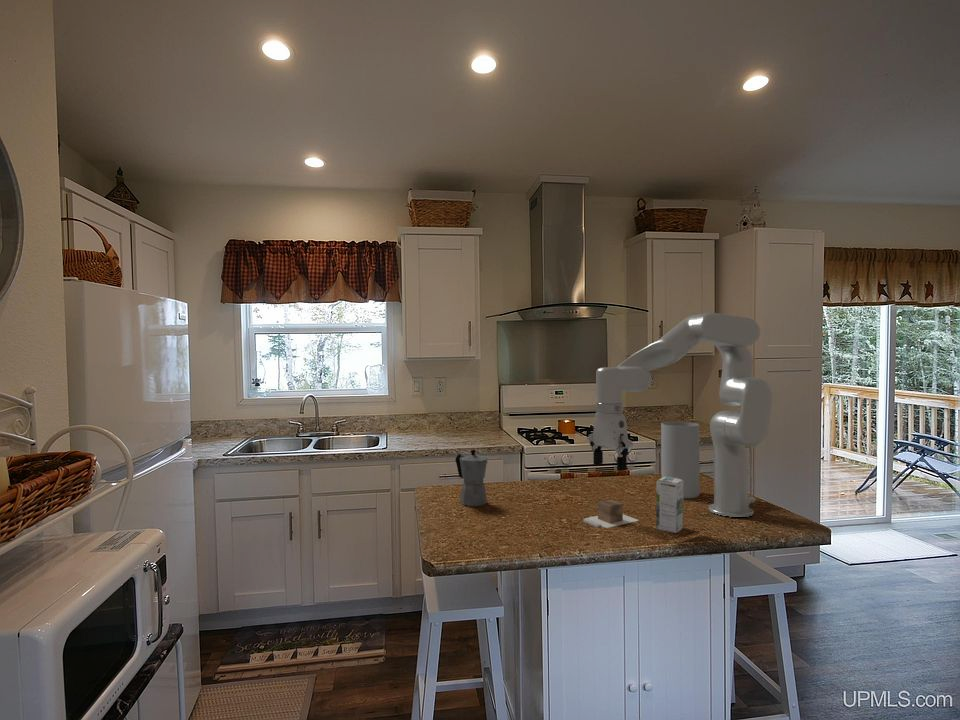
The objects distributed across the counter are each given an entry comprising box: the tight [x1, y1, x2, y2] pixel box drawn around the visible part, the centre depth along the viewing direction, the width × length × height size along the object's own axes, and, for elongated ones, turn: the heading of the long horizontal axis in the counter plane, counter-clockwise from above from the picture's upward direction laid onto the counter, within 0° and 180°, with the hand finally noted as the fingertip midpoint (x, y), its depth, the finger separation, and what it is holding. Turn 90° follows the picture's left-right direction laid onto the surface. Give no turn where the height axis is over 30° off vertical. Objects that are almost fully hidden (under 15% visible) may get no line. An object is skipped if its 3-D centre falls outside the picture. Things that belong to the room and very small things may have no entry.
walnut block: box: [597, 499, 624, 523], centre depth 148 cm, size 5×5×5 cm
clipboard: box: [582, 514, 640, 529], centre depth 148 cm, size 16×12×1 cm
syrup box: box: [655, 477, 684, 534], centre depth 140 cm, size 6×6×14 cm
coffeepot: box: [455, 448, 489, 507], centre depth 171 cm, size 15×9×18 cm, turn 44°
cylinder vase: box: [660, 421, 701, 500], centre depth 178 cm, size 12×12×25 cm
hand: (609, 467), depth 148 cm, fingers open, 9 cm apart
